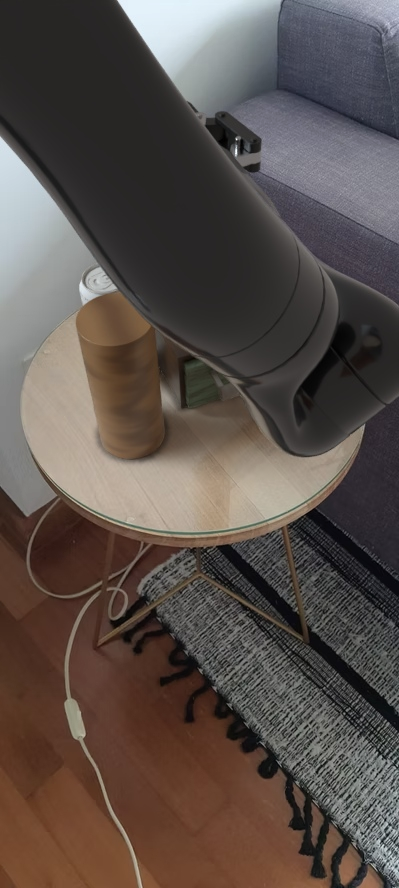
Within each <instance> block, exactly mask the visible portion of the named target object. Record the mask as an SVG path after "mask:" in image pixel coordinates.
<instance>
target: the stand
mask: <svg viewBox="0 0 399 888" xmlns="http://www.w3.org/2000/svg"><path fill="white" fill-rule="evenodd" d="M75 329H76V333H77V337H78V338H77V339H78V342H79V346H80V351H81V355H82V356H81V357H82V360H83V365H84V369H85V375H86V379H87V383H88V388H89V393H90V397H91V402H92V406H93V410H94V416H95V420H96V424H97V429H98V433H99V438H100V442H101V444H102V447H103V448H104V449H105V450H106V451H107V452H108V453H109V454H111V455H112V456H115V457H117V458H119V459H123V460H124V459H125V460H135V459H141V458H144V457H147V456H149V455H150V454H152V453H154V452H155V451H156V450H157V449H158V448H159V447H160V446H161V444H163V441H164V438H165V434H166V433H165V432H166V431H165V420H164V419H165V418H164V409H163V408H164V407H163V400H162V389H161V388H162V387H161V379H160V378H161V376H160V368H159V366H158V356H157V346H156V335H155V329H154V328H153V327H152V326H151V325H150V324H149V323H148V322H147V321H146V320H145V319H143V318H142V317H141V315H140V314H139V313H138V312H137V311H136V310H135V309H134V308H133V307H132V306H131V304H130V303H129V302H128V301H127V300H126V299H125V297H124V296H123V295H122V294H121V293H110V294H105V295H101V296H98V297H96V298H94V299H92V300H90V301H89V302H87V303H86V304H85V305H84V306H83V305H82V306H81V308H79V310H78V312H77V315H76V316H75Z"/></svg>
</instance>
